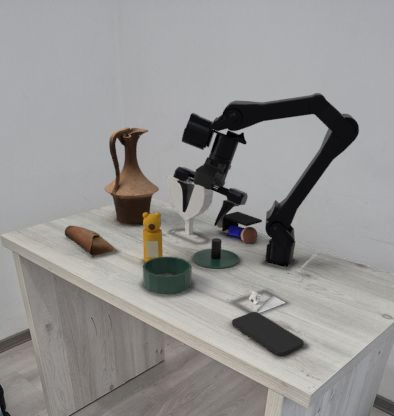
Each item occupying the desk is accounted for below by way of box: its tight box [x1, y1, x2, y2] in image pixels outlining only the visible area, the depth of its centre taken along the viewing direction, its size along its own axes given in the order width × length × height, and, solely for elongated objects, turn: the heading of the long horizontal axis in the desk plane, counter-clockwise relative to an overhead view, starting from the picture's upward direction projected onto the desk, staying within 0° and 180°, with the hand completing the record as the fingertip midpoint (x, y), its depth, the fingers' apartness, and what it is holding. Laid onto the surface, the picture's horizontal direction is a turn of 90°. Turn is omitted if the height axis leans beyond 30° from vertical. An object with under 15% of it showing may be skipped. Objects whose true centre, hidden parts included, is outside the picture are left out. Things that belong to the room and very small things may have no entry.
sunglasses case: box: [64, 225, 117, 258], centre depth 132 cm, size 18×7×7 cm
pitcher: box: [104, 126, 160, 226], centre depth 143 cm, size 18×17×28 cm
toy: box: [142, 211, 164, 263], centre depth 120 cm, size 5×5×13 cm
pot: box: [142, 256, 193, 295], centre depth 112 cm, size 12×12×5 cm
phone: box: [231, 311, 305, 356], centre depth 95 cm, size 7×1×15 cm
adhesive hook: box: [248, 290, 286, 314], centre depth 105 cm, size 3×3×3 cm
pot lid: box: [192, 237, 240, 270], centre depth 124 cm, size 13×13×6 cm
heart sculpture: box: [166, 173, 214, 239], centre depth 135 cm, size 16×5×18 cm, turn 45°
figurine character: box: [216, 211, 263, 245], centre depth 138 cm, size 7×8×15 cm
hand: (199, 218), depth 119 cm, fingers open, 9 cm apart
